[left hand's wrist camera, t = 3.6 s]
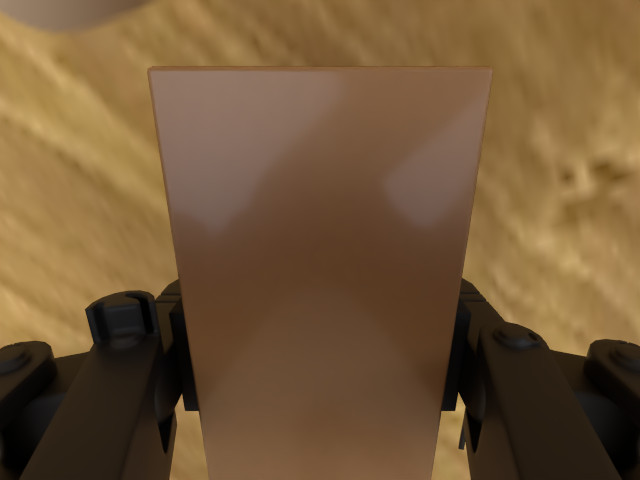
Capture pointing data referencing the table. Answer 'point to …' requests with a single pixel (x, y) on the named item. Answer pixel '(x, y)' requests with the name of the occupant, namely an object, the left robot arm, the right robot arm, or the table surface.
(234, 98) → the post
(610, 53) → the table surface
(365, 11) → the table surface
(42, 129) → the table surface
